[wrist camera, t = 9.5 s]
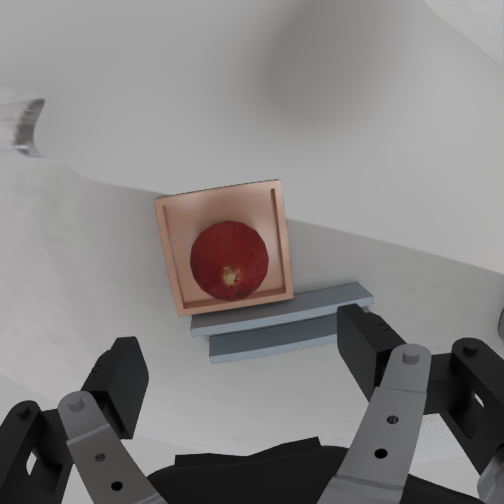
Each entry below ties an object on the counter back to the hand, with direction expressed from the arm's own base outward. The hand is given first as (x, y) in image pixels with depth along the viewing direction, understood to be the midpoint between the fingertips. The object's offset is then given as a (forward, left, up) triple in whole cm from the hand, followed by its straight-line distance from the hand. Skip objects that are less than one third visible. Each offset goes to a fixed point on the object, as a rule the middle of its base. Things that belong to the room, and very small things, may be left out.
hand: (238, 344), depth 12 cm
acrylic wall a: (-5, +9, -16) cm, 19 cm away
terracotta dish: (0, 0, -16) cm, 16 cm away
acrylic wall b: (-4, +6, -16) cm, 18 cm away
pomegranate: (0, 0, -16) cm, 16 cm away
